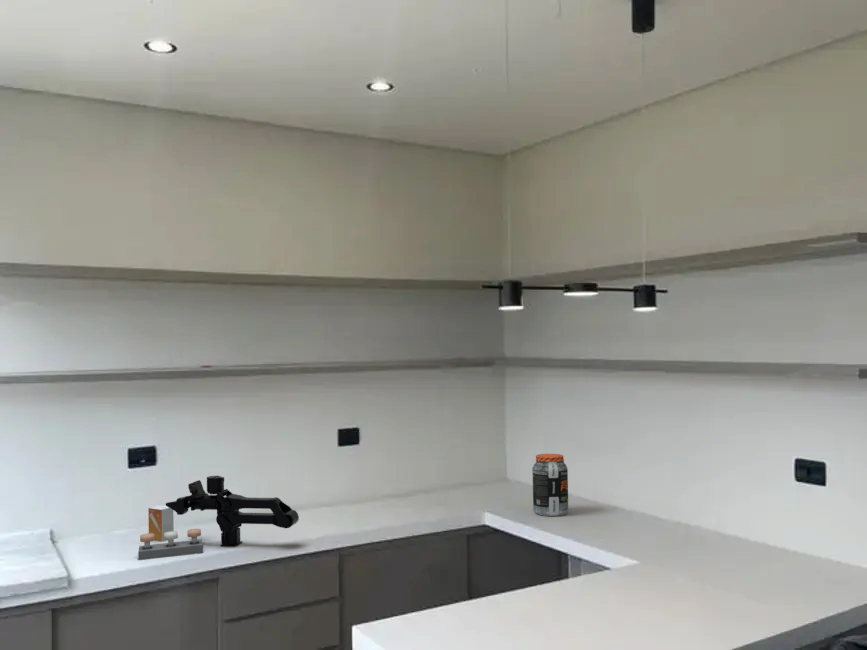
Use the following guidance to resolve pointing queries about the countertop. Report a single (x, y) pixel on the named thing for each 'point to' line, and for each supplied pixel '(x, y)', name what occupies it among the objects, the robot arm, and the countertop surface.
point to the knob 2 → (194, 534)
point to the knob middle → (170, 537)
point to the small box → (160, 521)
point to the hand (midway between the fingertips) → (172, 501)
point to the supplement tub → (550, 485)
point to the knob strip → (170, 549)
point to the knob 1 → (147, 539)
